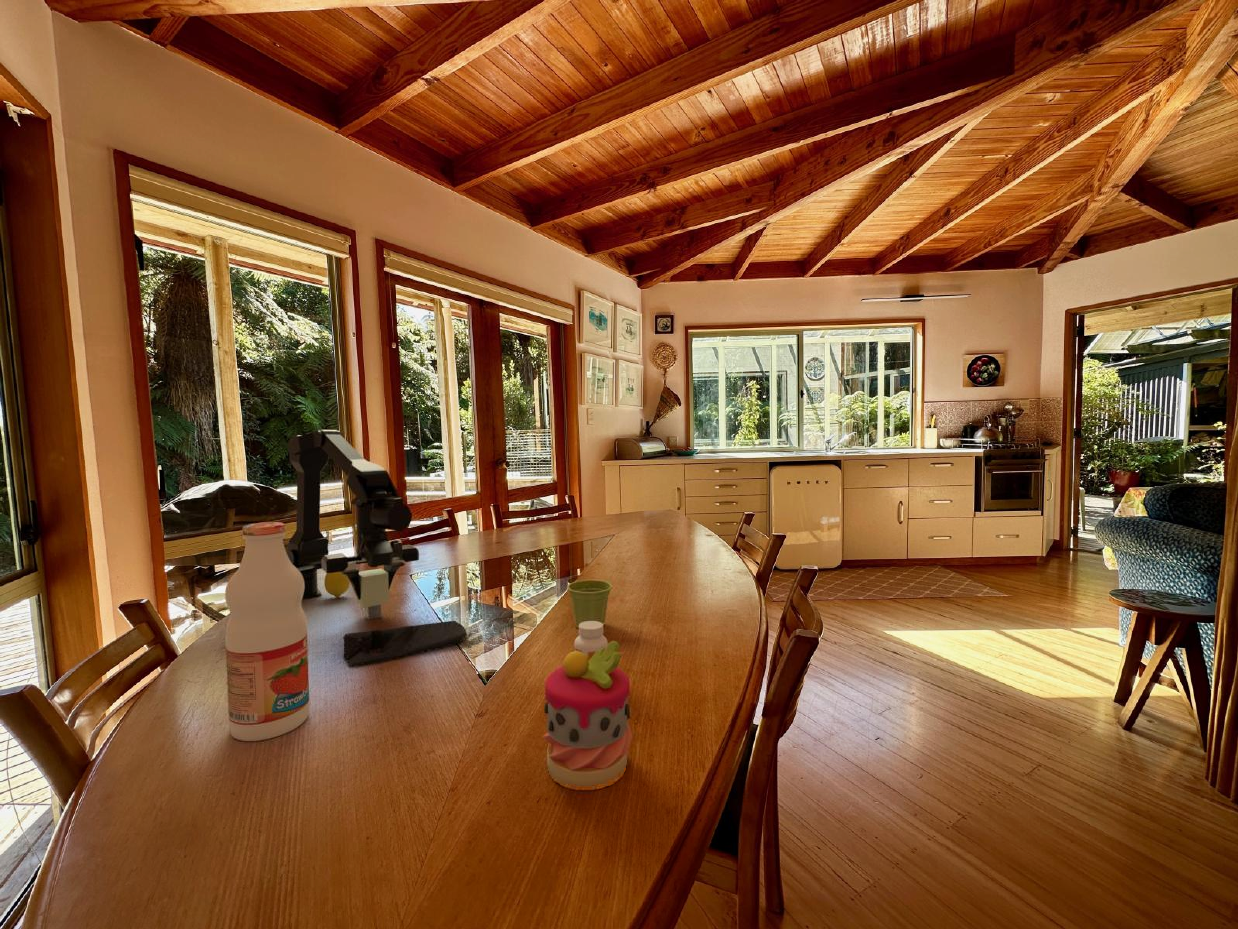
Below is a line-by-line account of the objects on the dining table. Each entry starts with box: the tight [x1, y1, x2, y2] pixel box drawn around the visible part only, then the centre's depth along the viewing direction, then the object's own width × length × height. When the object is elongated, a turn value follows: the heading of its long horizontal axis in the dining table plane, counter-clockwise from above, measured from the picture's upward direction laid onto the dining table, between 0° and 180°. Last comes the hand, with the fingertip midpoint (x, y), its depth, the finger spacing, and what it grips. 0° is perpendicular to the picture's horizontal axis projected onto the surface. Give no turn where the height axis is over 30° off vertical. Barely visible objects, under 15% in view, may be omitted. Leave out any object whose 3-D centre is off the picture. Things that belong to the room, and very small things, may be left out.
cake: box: [541, 640, 633, 787], centre depth 65 cm, size 10×11×15 cm
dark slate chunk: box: [342, 620, 468, 668], centre depth 103 cm, size 15×22×5 cm
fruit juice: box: [224, 521, 310, 742], centre depth 74 cm, size 9×9×28 cm
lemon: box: [324, 572, 351, 599], centre depth 131 cm, size 6×6×8 cm
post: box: [364, 604, 382, 621], centre depth 118 cm, size 3×3×7 cm
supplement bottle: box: [573, 621, 609, 661], centre depth 87 cm, size 5×5×10 cm
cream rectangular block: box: [356, 568, 390, 609], centre depth 117 cm, size 5×5×7 cm
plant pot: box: [567, 579, 613, 626], centre depth 113 cm, size 9×9×9 cm
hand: (372, 596), depth 117 cm, fingers closed on cream rectangular block, 5 cm apart
